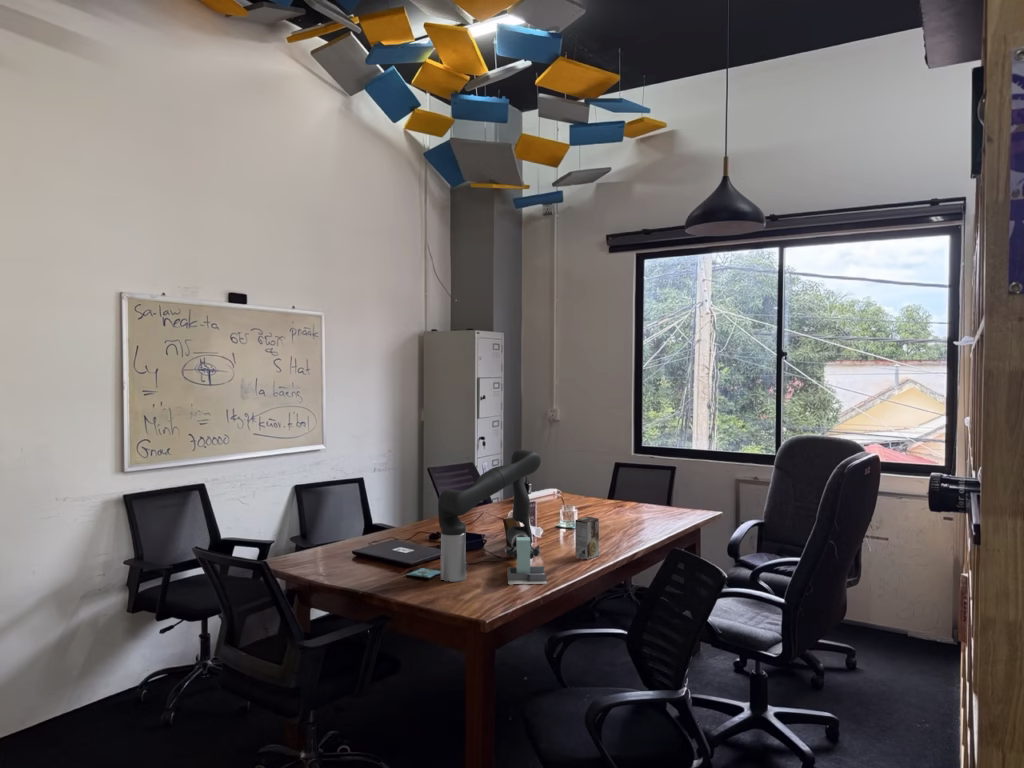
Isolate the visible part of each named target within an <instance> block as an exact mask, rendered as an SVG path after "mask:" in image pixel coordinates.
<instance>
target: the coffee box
mask: <svg viewBox="0 0 1024 768" xmlns="http://www.w3.org/2000/svg"><path fill="white" fill-rule="evenodd" d="M574 522H575V526H574V527H575V529H574V530H575V543H574V544H575V545H574V546H575V549H574V550H575V553H574V554H575V555H574V556H575V557H577V558H576V559H579V558H582V559H581V560H583V559H587V560H586V561H589V560H588V559H590V558H592V559H594V558H597V557H599V556H600V548H599V547H600V542H599V541H600V539H599V538H600V535H599V534H600V532H599V531H600V530H599V527H600V526H599V522H600V519H599V518H597V517H593V516H584V517H581V518H578V519H575V521H574ZM598 555H599V556H598ZM596 556H597V557H596ZM575 557H574V558H575ZM593 557H594V558H593ZM590 560H591V559H590Z"/></svg>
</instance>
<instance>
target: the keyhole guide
mask: <svg viewBox="0 0 1024 768" xmlns="http://www.w3.org/2000/svg"><path fill="white" fill-rule="evenodd" d="M506 571H507V572H506V574H507V575H506V576H507V584H509V585H508V586H514V585H513V584H543V585H548V582H547V573H545V566H544V565H540V566H539V565H536V566H535V565H534V566H533V565H532V566H531V565H530V573H516V566H515V567H514V566H513V567H512V566H511V567H509V566H508V567H507V568H506Z"/></svg>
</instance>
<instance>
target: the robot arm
mask: <svg viewBox="0 0 1024 768" xmlns="http://www.w3.org/2000/svg"><path fill="white" fill-rule="evenodd" d="M510 460H511V461H510V462H511V463H509V464H503V465H499V466H498V465H497V466H494V467H492V468H490V469H489V470H487V471H485V472H483V473H482V474H480V476H479V477H478V478H477V480H476V482H475V484H474V485H472V486H471V487H469V488H467V489H464V490H458V489H457V490H456V489H451V488H450V489H445V490H443V491H442V492H441V493H440V494H439V497H438V502H437V513H438V524H439V525H438V526H439V527H440V581H441V580H444V581H443V582H448V581H449V582H451V583H453V582H462V581H464V580H466V568H467V567H466V561H467V560H466V557H467V556H466V555H467V554H466V552H467V551H466V544H467V541H466V540H467V539H466V536H467V535H466V532H467V531H466V525H465V523H463V522H462V521H461V520H460V518H459V517H460V516H464V515H465V514H467V513H468V512H470V511H472V509H474V508H475V507H476V506H477V505H478V504H480V503H481V502H483V501H485V500H487V499H488V498H489V497H492V496H494V495H495V494H497V493H498V492H500V491H502V490H503V489H505V488H506V487H508V486H510V485H512V488H513V489H512V492H513V500H512V501H513V504H512V517H511V518H512V519H513V521H515V522H517V523H521V524H522V525H523V526H522V525H521V526H517V525H512V526H510V527H508V529H507V530H506V538H507V541H508V543H509V544H510V545H511V547H510V546H508V545H506V546H504V553H505V555H506V556H507V557H512V558H513V559H515V560H516V559H517V551H516V537H530V560H532V559H534V557H538V556H539V554H540V553H541V549H540V548H541V547H540V545H537V546H532V543H531V541H532V538H533V534H532V528H531V524H530V509H531V503H530V502H531V501H530V500H531V499H530V496H529V493H528V491H527V488H526V484H525V480H524V478H525V477H527V476H529V475H531V474H533V473H535V472H536V471H537V470H538V469H539V468H540V465H541V457H540V455H539V454H538V453H537V452H535V451H533V450H526V449H516V450H515V451H514V452H513V453H512V456H511V459H510Z"/></svg>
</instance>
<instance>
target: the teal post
mask: <svg viewBox="0 0 1024 768" xmlns="http://www.w3.org/2000/svg"><path fill="white" fill-rule="evenodd" d="M530 542H531V541H530V537H516V551H517V559H515V560H516V561H515V567H516V573H530V566H531V559H530Z"/></svg>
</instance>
